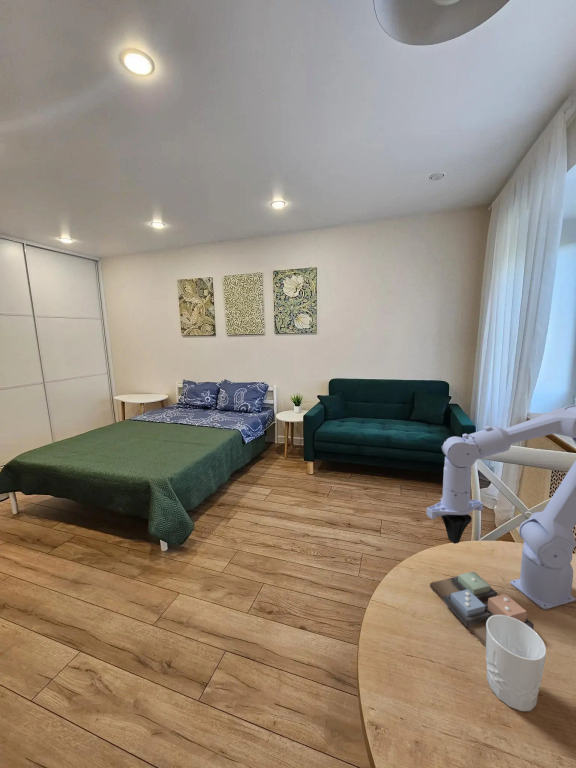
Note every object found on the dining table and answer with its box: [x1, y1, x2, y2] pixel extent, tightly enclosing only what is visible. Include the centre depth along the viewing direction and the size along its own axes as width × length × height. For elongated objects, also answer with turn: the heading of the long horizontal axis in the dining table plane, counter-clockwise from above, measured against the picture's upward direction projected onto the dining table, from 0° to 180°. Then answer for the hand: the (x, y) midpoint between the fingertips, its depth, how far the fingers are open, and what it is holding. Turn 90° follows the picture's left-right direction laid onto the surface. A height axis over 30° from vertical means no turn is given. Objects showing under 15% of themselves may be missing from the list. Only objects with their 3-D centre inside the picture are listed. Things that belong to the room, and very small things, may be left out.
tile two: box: [488, 593, 527, 623], centre depth 62 cm, size 4×4×3 cm
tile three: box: [450, 589, 485, 617], centre depth 65 cm, size 4×4×3 cm
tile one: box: [458, 571, 492, 596], centre depth 70 cm, size 4×4×3 cm
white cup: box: [485, 615, 547, 712], centre depth 50 cm, size 8×8×10 cm
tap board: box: [429, 576, 535, 648], centre depth 66 cm, size 12×17×2 cm
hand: (453, 540), depth 74 cm, fingers closed
